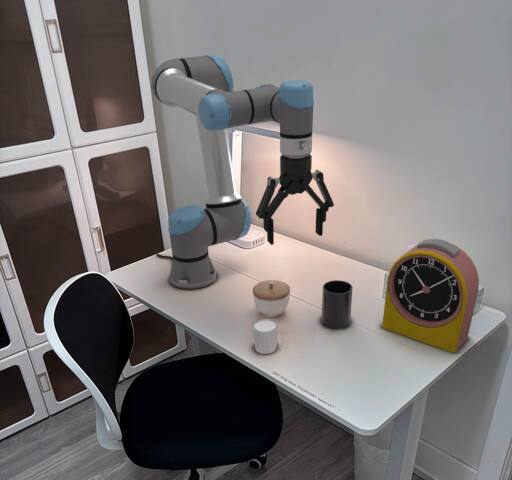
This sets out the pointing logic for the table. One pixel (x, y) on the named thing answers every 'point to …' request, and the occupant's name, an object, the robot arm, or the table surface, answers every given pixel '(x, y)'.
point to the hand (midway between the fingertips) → (295, 238)
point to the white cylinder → (265, 335)
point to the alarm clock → (432, 294)
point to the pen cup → (336, 304)
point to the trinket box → (271, 297)
